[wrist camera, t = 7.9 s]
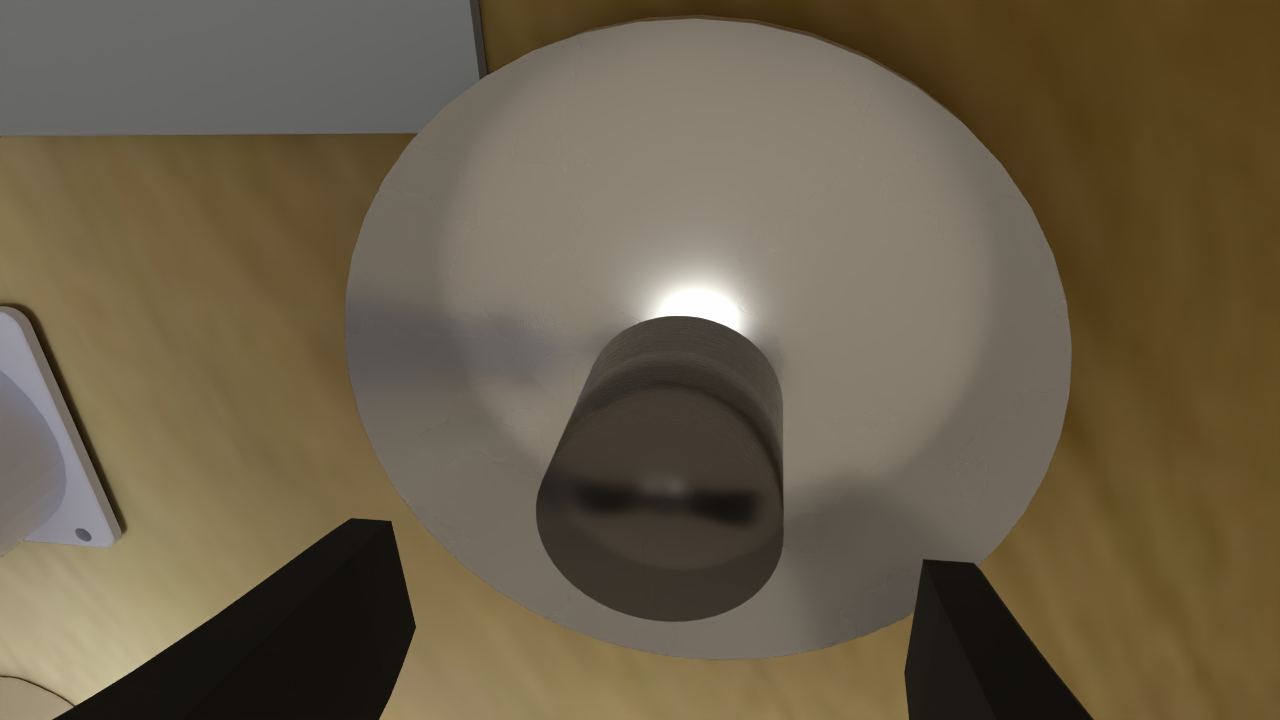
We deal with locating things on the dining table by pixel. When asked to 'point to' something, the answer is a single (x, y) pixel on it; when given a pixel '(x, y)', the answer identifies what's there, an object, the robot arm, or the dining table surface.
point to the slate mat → (233, 65)
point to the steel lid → (707, 337)
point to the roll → (28, 701)
